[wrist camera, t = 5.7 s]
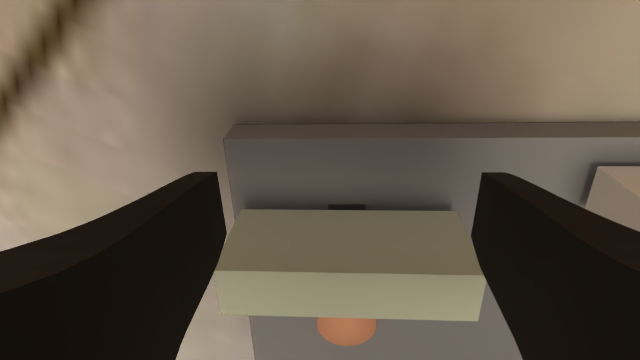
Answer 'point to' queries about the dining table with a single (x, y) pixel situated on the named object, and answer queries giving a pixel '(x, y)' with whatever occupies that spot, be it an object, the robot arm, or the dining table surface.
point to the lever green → (350, 265)
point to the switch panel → (407, 209)
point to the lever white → (616, 195)
